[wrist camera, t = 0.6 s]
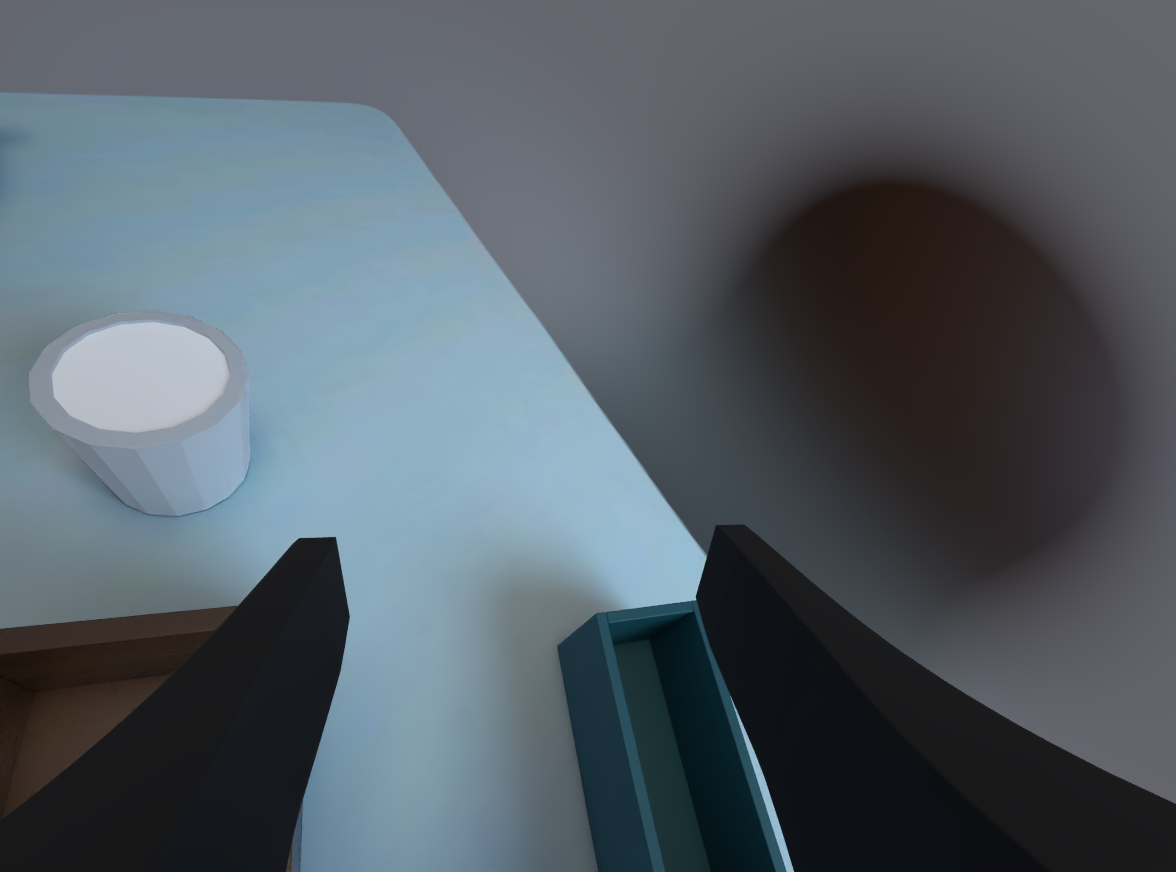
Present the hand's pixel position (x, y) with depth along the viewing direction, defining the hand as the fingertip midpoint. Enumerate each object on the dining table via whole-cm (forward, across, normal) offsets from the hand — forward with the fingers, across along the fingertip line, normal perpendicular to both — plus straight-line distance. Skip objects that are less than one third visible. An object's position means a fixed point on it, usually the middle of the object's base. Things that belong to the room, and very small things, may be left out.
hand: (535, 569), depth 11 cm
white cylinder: (+17, +15, +9) cm, 25 cm away
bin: (+6, -6, +19) cm, 21 cm away
